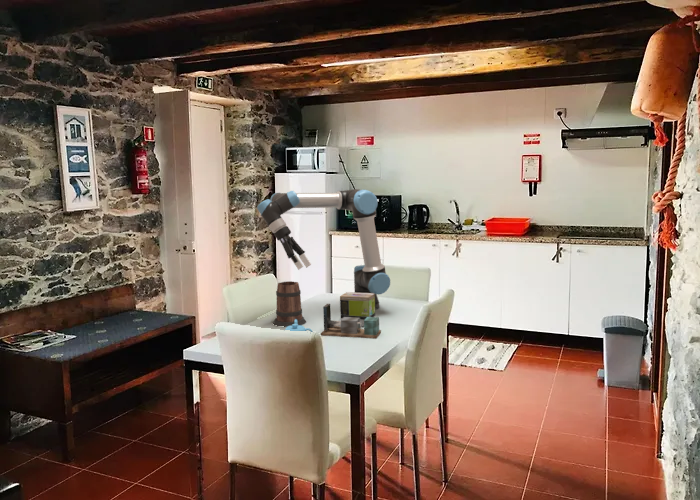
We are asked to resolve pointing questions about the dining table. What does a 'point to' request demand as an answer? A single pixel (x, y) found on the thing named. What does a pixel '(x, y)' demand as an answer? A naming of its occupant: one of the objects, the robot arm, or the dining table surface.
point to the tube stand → (355, 328)
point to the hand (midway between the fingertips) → (305, 267)
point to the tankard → (288, 304)
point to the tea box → (357, 305)
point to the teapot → (297, 327)
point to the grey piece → (330, 323)
